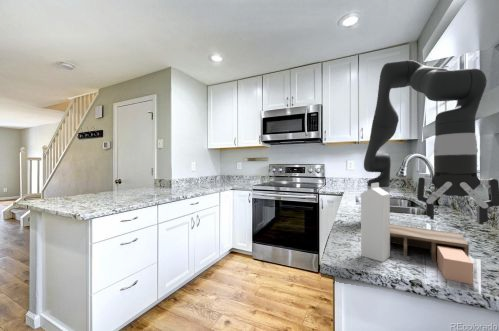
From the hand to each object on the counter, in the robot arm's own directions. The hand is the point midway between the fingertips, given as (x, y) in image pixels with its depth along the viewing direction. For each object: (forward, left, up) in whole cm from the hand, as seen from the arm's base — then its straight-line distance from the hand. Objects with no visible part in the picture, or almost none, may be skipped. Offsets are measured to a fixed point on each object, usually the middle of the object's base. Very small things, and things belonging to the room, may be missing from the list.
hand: (454, 221), depth 52 cm
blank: (-4, 0, -14) cm, 14 cm away
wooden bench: (-15, -6, -14) cm, 21 cm away
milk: (-4, -17, -14) cm, 22 cm away
